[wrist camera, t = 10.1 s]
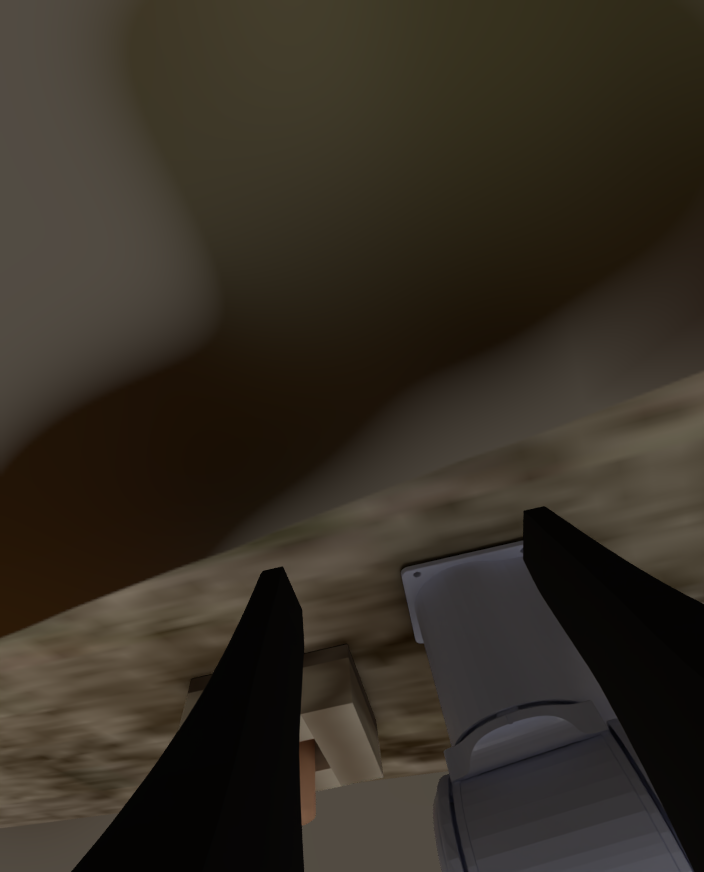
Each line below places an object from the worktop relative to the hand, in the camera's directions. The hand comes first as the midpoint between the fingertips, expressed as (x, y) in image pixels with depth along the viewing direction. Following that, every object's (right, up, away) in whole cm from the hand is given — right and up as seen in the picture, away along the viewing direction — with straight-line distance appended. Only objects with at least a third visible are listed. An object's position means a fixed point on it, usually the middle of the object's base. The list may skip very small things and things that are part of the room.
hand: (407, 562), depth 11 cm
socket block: (-7, -18, +20) cm, 28 cm away
